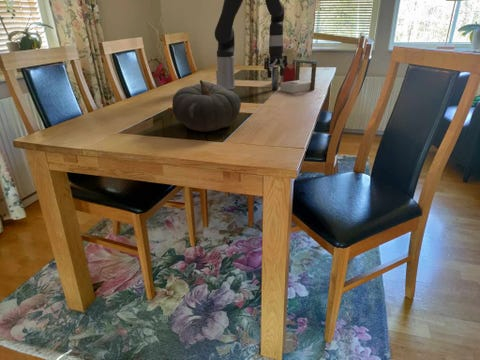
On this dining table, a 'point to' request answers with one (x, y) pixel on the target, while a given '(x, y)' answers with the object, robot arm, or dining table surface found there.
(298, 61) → the grey arch
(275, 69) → the peg
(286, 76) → the milk carton
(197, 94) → the gourd
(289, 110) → the dining table surface
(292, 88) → the socket block
